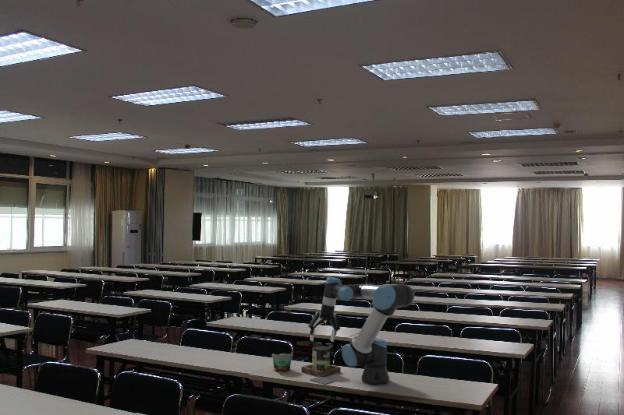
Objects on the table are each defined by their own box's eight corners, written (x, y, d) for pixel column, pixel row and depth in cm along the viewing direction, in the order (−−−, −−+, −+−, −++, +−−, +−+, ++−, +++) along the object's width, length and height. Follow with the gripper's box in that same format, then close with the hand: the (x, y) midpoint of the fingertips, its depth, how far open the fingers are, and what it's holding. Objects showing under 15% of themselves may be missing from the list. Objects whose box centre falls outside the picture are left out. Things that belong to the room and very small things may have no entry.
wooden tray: (340, 372, 341) (340, 367, 341) (322, 377, 329) (322, 372, 329) (320, 367, 352) (320, 362, 352) (301, 372, 340) (301, 366, 340)
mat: (335, 381, 322) (335, 380, 322) (324, 384, 316) (324, 383, 316) (320, 377, 329) (320, 376, 329) (309, 380, 323) (309, 379, 323)
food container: (273, 373, 337) (273, 355, 337) (271, 370, 343) (271, 353, 343) (294, 371, 340) (294, 354, 340) (292, 369, 346) (292, 352, 346)
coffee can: (333, 371, 341) (333, 347, 341) (322, 375, 333) (323, 350, 333) (319, 368, 347) (319, 344, 348) (308, 372, 339) (308, 348, 339)
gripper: (343, 304, 345) (336, 339, 346) (306, 301, 333) (299, 337, 334) (350, 307, 339) (343, 343, 339) (312, 304, 327) (305, 342, 327)
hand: (321, 340), depth 337 cm, fingers open, 13 cm apart
